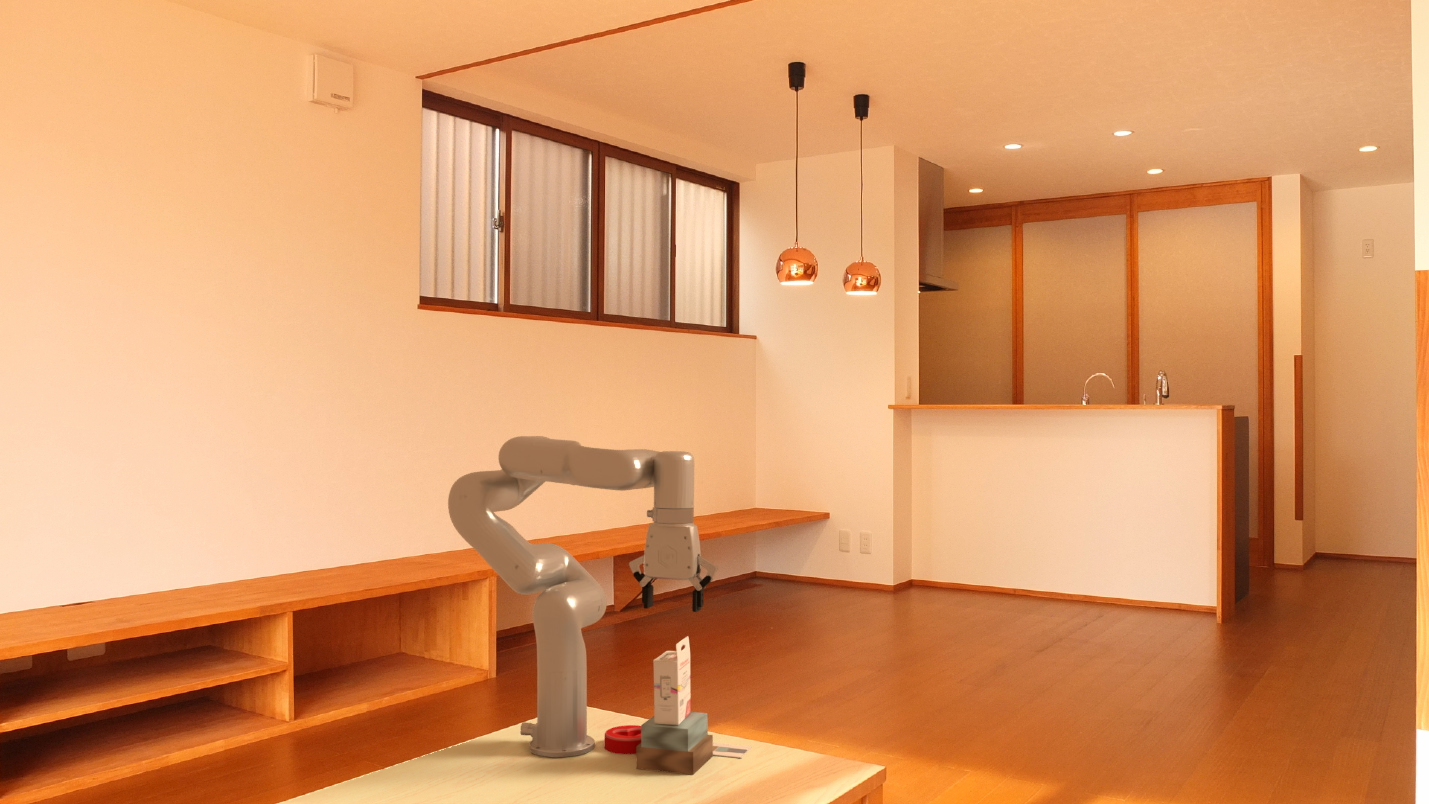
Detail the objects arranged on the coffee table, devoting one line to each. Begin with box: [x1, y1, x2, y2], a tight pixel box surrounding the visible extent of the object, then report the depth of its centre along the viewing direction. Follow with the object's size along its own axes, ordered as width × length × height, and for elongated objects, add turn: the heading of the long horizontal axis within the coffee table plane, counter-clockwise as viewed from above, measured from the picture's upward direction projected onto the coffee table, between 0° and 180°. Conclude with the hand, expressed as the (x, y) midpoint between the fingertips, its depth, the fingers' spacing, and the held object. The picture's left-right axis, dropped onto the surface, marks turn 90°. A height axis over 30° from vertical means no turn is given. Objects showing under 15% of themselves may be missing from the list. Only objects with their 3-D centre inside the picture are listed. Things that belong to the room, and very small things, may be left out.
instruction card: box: [713, 742, 752, 759], centre depth 199 cm, size 10×7×1 cm
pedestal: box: [635, 711, 714, 776], centre depth 192 cm, size 11×11×8 cm
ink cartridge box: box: [652, 635, 692, 725], centre depth 193 cm, size 9×5×15 cm, turn 166°
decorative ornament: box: [604, 724, 641, 755], centre depth 202 cm, size 10×10×3 cm
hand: (672, 609), depth 193 cm, fingers open, 9 cm apart
